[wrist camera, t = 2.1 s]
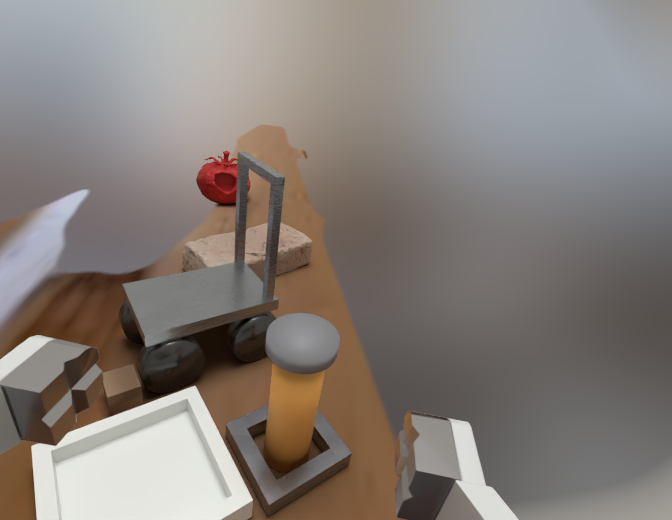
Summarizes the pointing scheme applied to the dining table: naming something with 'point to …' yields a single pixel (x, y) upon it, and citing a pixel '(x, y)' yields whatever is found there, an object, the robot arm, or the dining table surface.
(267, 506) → the socket
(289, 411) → the pin
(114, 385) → the block
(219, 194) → the red hollow tomato
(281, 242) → the brick
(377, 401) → the dining table surface
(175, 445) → the tray
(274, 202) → the trolley
